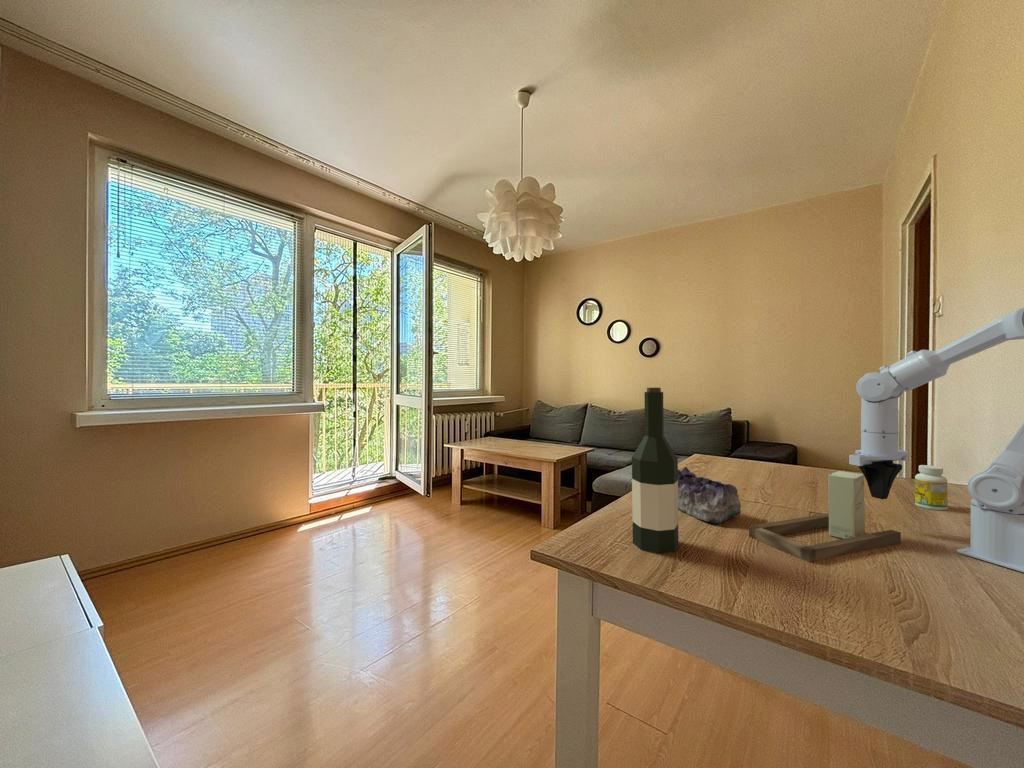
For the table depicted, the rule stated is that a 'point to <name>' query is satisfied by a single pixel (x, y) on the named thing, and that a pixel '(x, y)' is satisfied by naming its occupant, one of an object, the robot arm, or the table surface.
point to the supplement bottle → (931, 488)
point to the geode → (706, 498)
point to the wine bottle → (655, 483)
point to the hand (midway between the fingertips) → (879, 497)
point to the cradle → (772, 536)
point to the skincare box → (846, 504)
